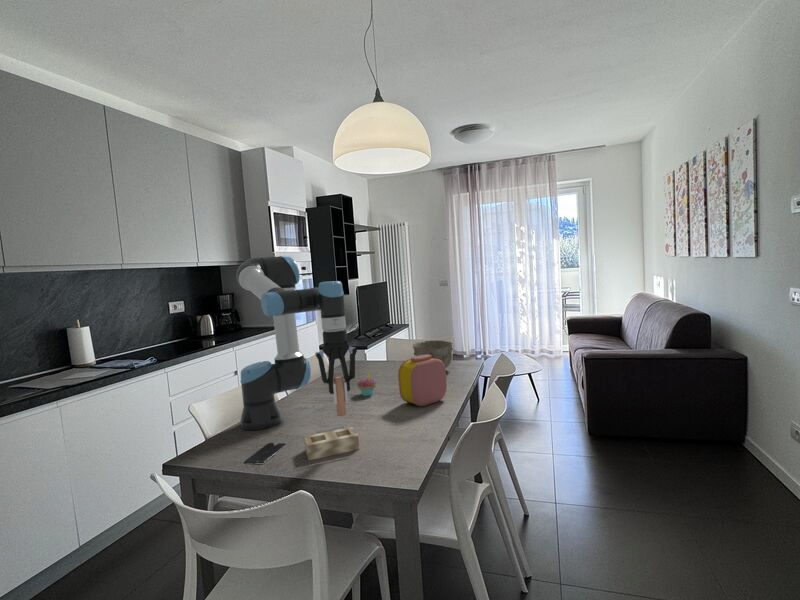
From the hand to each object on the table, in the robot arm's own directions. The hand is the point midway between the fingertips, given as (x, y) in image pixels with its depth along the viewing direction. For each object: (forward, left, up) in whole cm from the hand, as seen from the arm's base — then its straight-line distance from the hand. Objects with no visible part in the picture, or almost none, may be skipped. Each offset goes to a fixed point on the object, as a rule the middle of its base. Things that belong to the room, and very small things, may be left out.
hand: (340, 402), depth 139 cm
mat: (-1, +13, -15) cm, 20 cm away
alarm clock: (+41, +29, -16) cm, 53 cm away
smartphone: (-24, +9, -16) cm, 30 cm away
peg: (0, 0, -4) cm, 4 cm away
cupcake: (+23, +53, -16) cm, 60 cm away
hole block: (-4, 0, -15) cm, 16 cm away
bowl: (+66, +73, -16) cm, 100 cm away
